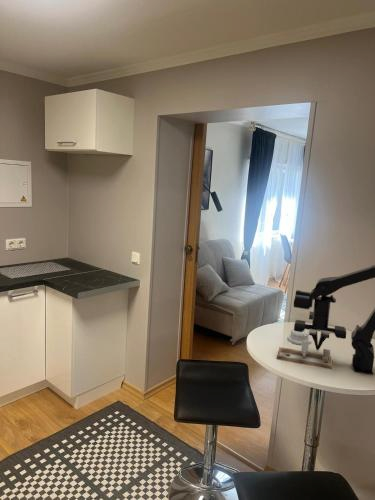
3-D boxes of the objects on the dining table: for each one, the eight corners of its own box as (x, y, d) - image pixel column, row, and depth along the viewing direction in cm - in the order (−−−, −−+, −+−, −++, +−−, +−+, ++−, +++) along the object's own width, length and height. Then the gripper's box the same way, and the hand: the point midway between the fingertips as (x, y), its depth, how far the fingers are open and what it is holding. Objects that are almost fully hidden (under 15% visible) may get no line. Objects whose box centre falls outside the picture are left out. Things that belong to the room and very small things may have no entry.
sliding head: (307, 352, 147) (309, 340, 147) (307, 359, 142) (308, 346, 141) (301, 351, 148) (302, 339, 147) (300, 357, 143) (301, 345, 142)
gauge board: (331, 358, 146) (332, 348, 146) (331, 369, 138) (332, 358, 137) (279, 349, 153) (280, 339, 152) (276, 358, 145) (277, 348, 144)
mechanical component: (313, 346, 158) (308, 337, 168) (314, 336, 157) (309, 328, 167) (289, 344, 159) (285, 335, 169) (290, 335, 158) (286, 326, 168)
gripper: (346, 308, 147) (342, 346, 149) (297, 302, 153) (294, 338, 155) (348, 317, 136) (343, 357, 139) (295, 310, 142) (292, 348, 145)
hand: (317, 349), depth 145 cm, fingers closed
